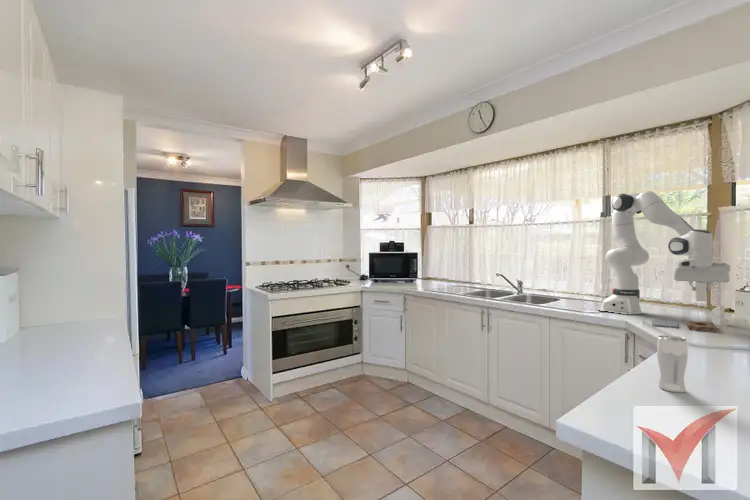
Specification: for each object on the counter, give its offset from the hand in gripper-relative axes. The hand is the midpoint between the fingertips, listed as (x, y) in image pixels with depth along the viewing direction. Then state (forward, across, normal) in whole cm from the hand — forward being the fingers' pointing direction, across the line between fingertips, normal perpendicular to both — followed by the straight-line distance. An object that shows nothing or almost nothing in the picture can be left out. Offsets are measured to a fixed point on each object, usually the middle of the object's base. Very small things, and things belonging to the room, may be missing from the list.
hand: (700, 290), depth 176 cm
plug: (+5, 0, 0) cm, 5 cm away
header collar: (+18, 0, 0) cm, 18 cm away
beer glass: (+18, +17, +100) cm, 103 cm away
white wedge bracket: (+19, -9, -16) cm, 26 cm away
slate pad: (+18, +14, 0) cm, 23 cm away
